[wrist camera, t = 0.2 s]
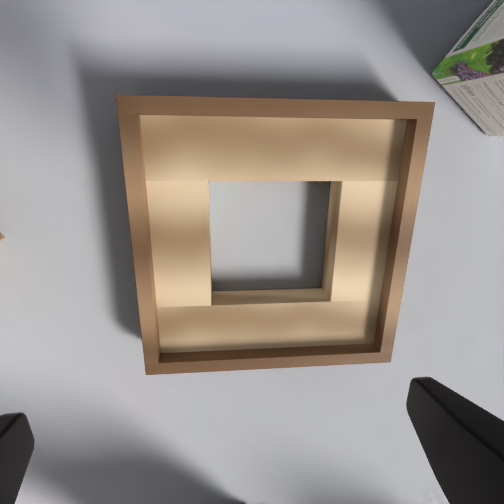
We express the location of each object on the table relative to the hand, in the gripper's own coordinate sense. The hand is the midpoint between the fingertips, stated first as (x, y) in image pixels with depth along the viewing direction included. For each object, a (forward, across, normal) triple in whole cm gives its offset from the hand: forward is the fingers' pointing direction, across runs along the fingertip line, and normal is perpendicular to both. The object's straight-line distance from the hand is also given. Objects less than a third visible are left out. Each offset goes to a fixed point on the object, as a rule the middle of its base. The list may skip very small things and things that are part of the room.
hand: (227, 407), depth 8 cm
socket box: (+14, -3, +1) cm, 15 cm away
